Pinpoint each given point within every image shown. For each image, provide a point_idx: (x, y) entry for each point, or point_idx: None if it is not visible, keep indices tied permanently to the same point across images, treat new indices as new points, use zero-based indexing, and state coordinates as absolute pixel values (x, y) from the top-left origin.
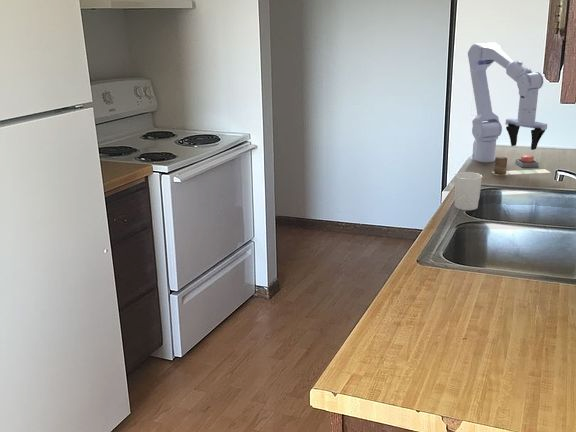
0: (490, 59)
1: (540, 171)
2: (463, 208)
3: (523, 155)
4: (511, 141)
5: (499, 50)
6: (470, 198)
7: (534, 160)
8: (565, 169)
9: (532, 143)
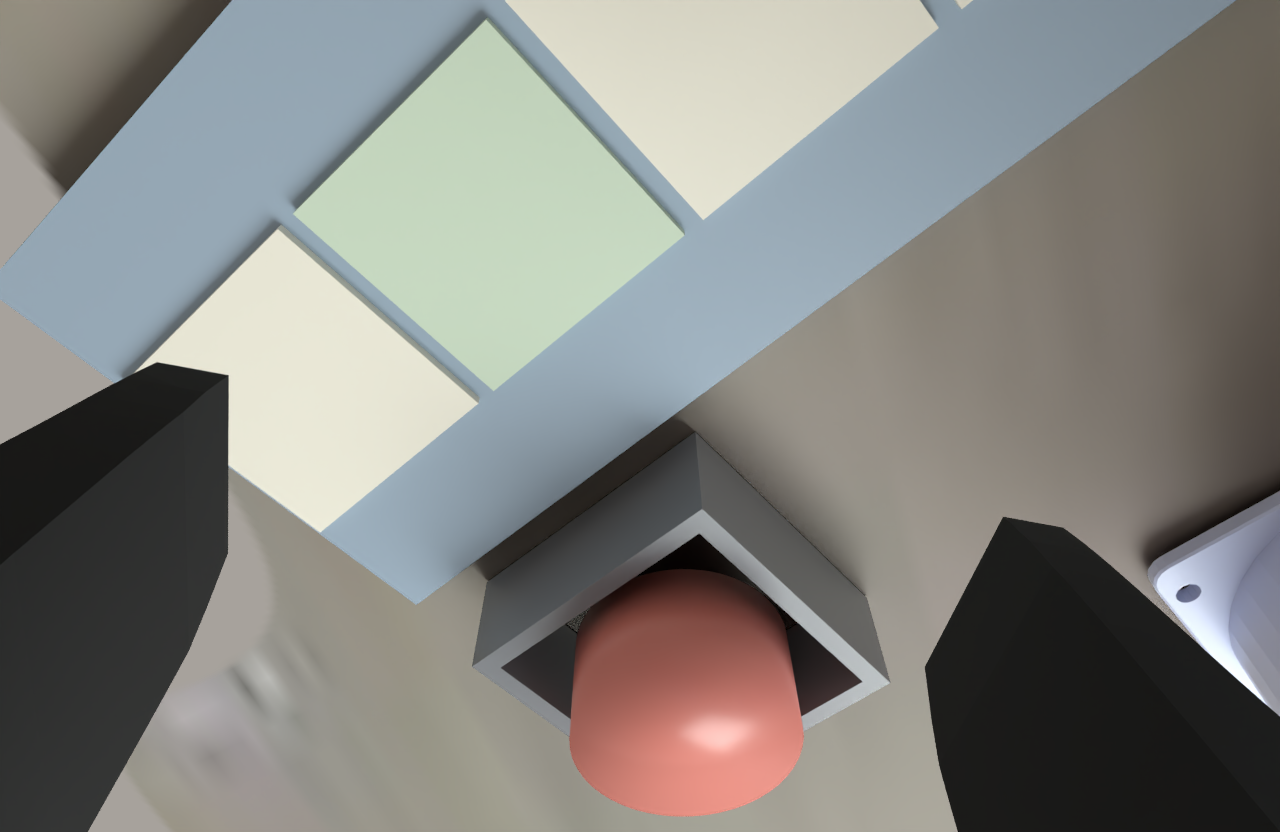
0: None
1: (306, 366)
2: None
3: (771, 764)
4: (1149, 630)
5: None
6: None
7: None
8: (171, 730)
9: (19, 484)
